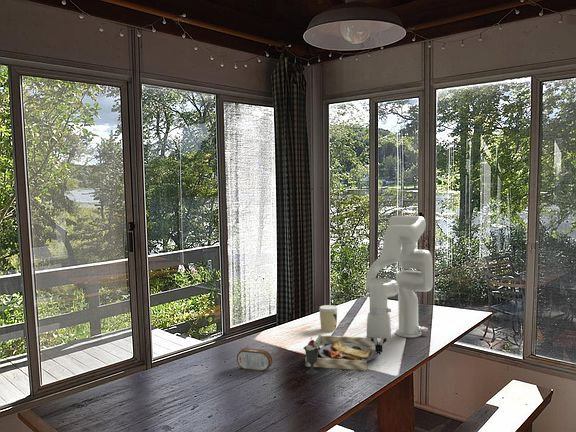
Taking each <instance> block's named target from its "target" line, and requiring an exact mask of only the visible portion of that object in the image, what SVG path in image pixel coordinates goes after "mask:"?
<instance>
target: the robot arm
mask: <svg viewBox="0 0 576 432" xmlns="http://www.w3.org/2000/svg"><path fill="white" fill-rule="evenodd" d="M426 223H427V222H426V219H425V218H424V217H423V216H420V215H393V216H390V217H389V219H388V226H387V227H386V229H385V233H384V239H383V243H382V250H381V254H380V256H379V257H377V258H376V260H374V262H373V263H372V264H371V266H370V267H369V269H368V271H367V275H366V280H365V291H366V292H367V294H368V295H369V313H367V319H366V337H365V338H366V339H367V340H371V341H372V342H373V345H374V348H375V349H374V350H375V352H377V355H382V353H383V345H384V344H385V343H386V342H390V341H392V326H391V325H392V324H391V316H390V313H391V312H392V309H391V308H389V307H388V298H392V297H396V296H397V298H398V299H397V300H398V303H397V304H398V306H397V307H398V308H397V309H398V328H397V329H396V330H395V331H394V333H395V335H397V336H398V337H403V338H418V337H420V336H422V333H428V332H429V328H428V327H426V326H420V323H419V299H418V296H417V294H416V292H429V291H431V290H432V289H433V286H434V277H433V276H434V275H433V273H434V272H433V269H434V268H433V267H434V266H433V256H432V253H431V252H430V251H429V250H427V249H417V242H418V241H419V239H420V238H421V236H422V235H423V234H424V233H425V230H426V227H427V226H426V225H427V224H426ZM397 262H398V264H399V266H400V267H401V268H404V269H409V270H401V271H399V272H398V273H397V274H396V276H395V277H396V278H395V280H394V279H388V278H379V277H378V278H377V275H378V273H379V272H380V271H381V270H382V269H383V268H385V267H387V266H390V265H393V264H395V263H397ZM410 269H411V270H410ZM413 269H414V270H413ZM417 270H420V271H417ZM378 339H380V341H379V342H378Z"/></svg>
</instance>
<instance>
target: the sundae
mask: <svg viewBox="0 0 576 432" xmlns="http://www.w3.org/2000/svg"><path fill="white" fill-rule="evenodd" d="M312 338H313V337H310V339H309V342H308V343H307V345H305V346H304V347H303V350H304V351H305V357H306V358H307V362H308V363H310V364H311V367H310V369H309V370H306V372H305V373H306V374H307V375H308V376H309V375H310V376H314V375H318V374H319V371H318V370H316V369H315V367H314V364H315V363H316V362H317V358H319V357H318V355H319V353H318V351H319V350H320V348H321V346H317V343H316V342H315V341H316V340H314V339H312Z"/></svg>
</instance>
